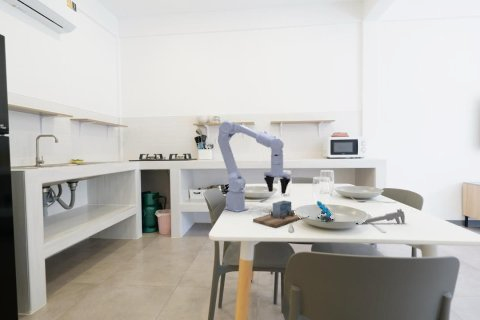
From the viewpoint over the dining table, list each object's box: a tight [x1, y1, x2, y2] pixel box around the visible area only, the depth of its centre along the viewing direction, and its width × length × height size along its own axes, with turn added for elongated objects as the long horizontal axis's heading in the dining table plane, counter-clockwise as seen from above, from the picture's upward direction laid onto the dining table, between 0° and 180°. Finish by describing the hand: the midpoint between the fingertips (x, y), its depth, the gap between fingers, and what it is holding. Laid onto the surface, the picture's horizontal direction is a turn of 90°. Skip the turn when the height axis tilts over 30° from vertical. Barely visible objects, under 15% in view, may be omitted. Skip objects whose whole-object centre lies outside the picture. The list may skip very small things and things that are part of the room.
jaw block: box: [272, 200, 292, 219], centre depth 113 cm, size 4×8×6 cm, turn 134°
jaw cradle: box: [252, 209, 301, 229], centre depth 114 cm, size 12×24×3 cm, turn 134°
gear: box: [316, 200, 332, 218], centre depth 114 cm, size 11×6×10 cm
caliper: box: [361, 208, 406, 225], centre depth 106 cm, size 20×1×6 cm, turn 91°
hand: (276, 192), depth 125 cm, fingers open, 7 cm apart
